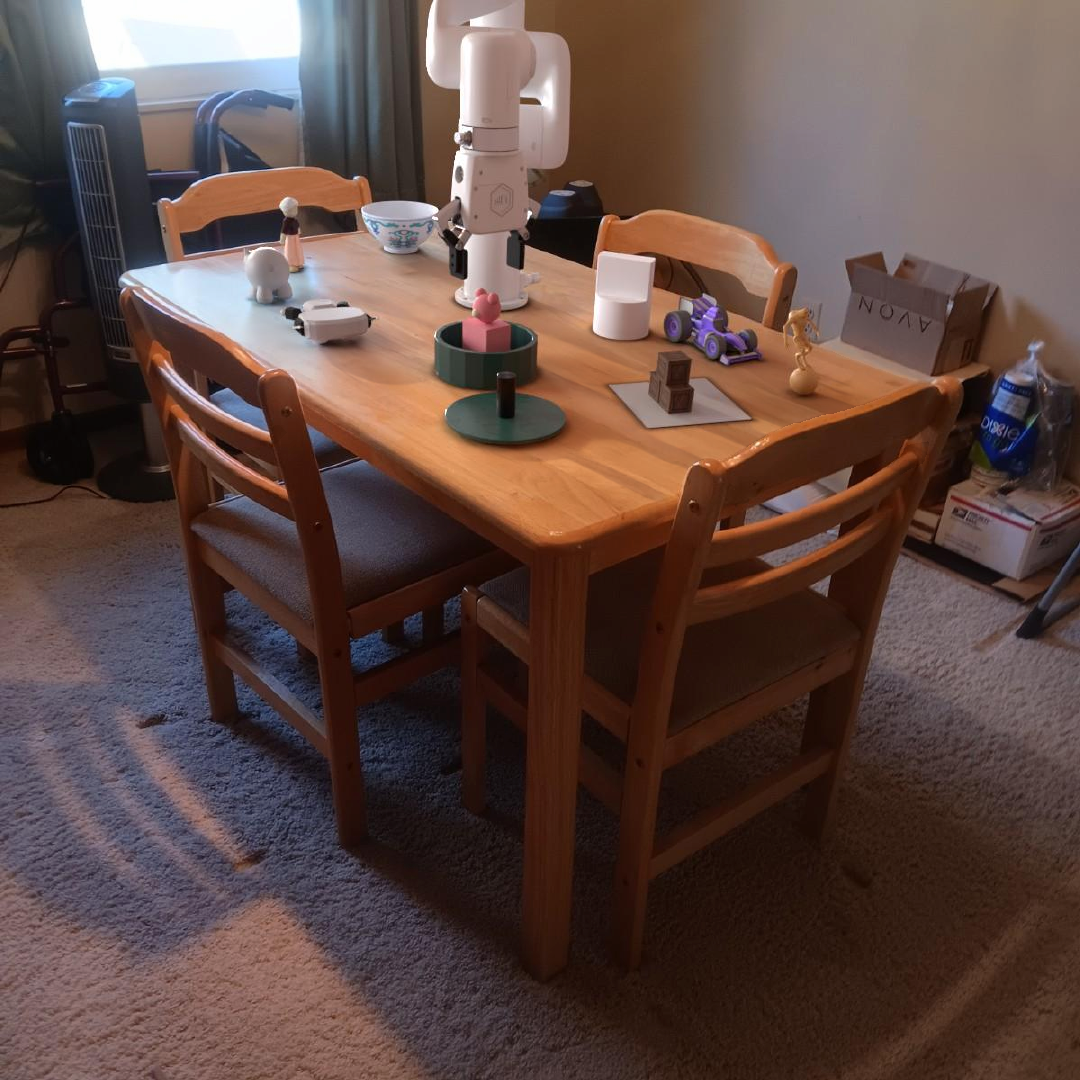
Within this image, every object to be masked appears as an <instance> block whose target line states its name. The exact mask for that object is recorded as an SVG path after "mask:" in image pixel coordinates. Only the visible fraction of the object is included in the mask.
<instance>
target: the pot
mask: <svg viewBox="0 0 1080 1080" xmlns="http://www.w3.org/2000/svg"><path fill="white" fill-rule="evenodd" d="M500 320H501V321H503V322H506V323H508V324H510V325H511V342H510V350H508V351H502V352H479V351H469V350H464V349H463V320H457V321H453V322H450V323H447V324H444V325H442V326H441V327H439V328H438V329H436V330H435V333H434V336H433V338H434V339H433V340H434V342H433V345H434V347H433V348H434V372H435V374H436V376H437V377H438V378H439V379H440V380H442V381H443V382H445V383H447V384H450V385H452V386H455V387H459V388H463V389H468V390H478V391H497V374H498V373H500V372H505V371H507V372H513V373H515V374H516V388H518V387H521V386H524V385H526V384H528V383H530V382H532V381H533V380H534V379H535V378H536V375H537V368H538V367H537V366H538V347H539V344H538V343H539V335H538V334H537V332H535V331H534V330H533V329H532V328H530V327H528V326H526V325H524V324H521V323H517V322H513V321H508V320H502V319H500Z"/></svg>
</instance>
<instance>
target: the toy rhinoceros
mask: <svg viewBox="0 0 1080 1080" xmlns="http://www.w3.org/2000/svg"><path fill="white" fill-rule="evenodd" d="M243 254H244V257H243V263H242V264H243V271H244V273H245V276H246V279H247V281H248V282H249V283H250V284H251V285H250V288H249V297H250V298H251V299H254V300H256V301H257V303H259V304H271V303H272V302H273V301H274V297H277V298H278V299H279V300H285V301H286V300H290V299H292V297H293V289H292V287H291V284H290V283H289V278H290V274H291V272H290V268H289V264H288V261H287V259H286V258H285V254H283V253H282V252H281V251H279V250H277V249H275V248H273V247H268V246H265V247H264V246H263V245H261V246H260V247H259V248H257V249H254V250H249V249H248V248H246V247H244V248H243Z"/></svg>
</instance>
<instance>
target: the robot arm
mask: <svg viewBox="0 0 1080 1080" xmlns="http://www.w3.org/2000/svg"><path fill="white" fill-rule="evenodd" d="M525 11H526V1H525V0H433V1H432V3H431V6H430V10H429V15H428V22H427V23H428V25H427V36H426V48H425V49H426V50H425V51H426V52H425V53H426V54H425V55H426V56H425V57H426V59H425V61H426V68H427V72H428V75H429V77H430V79H431V81H432V82H433V83H434V84H435V85H437V86H438V87H440V88H444V89H448V90H450V89H451V90H460V118H459V123H458V132H455V133H454V135H453V140H454V143H455V144H456V145H459V147H460V148H459V149H460V150H457V151H456V155H455V160H454V165H453V170H452V171H453V172H452V179H451V180H452V181H451V192H450V193H451V194H450V202H449V203H447V204H446V205H444V206H443V207H442V208H441V209H440V210H439V211H438V212H437V213H436V214H435V215H433V217H432V220H433V222H434V225H435V229H436V230H437V235H438V236H439V237H440V239H441V240H442V241H443V242H444V243H445V246H447V247H448V248H449V249H448V268H449V274H450V276H451V277H454V278H456V279H458V280H461V281H463V285H462V286H461V287H459V288H457V289H456V290H455V292H454V299H455V301H456V303H458V304H459V305H461V306H464V307H466V308H470V309H473V303H474V301H475V299H476V298H477V297H476V295H475V292H476V290H477V289H478V288H484V289H485V290H486V292H487V294H491V293H496V294H497V295H498V296H499V301H500V304H501V311H508V310H515V309H518V308H521V307H523V306H525V305H527V304H528V302H529V294H528V293H527V291H525V288H527V287H528V285H537V284H540V283H541V282H542V276H541V274H540V272H538V271H535V272H531V273H530V272H529V273H526V272H525V271H523V270H524V269H525V254H526V241H527V240H529V239H530V233H531V231H532V230H533V229H534V227H535V226H536V223H537V222H536V219H537V218H538V216H539V214H540V211H541V208H542V205H541V203H540V202H538V201H536V200H534V199H532V198H531V197H529V184H528V183H529V182H528V181H529V180H528V172H527V171H528V170H527V169H532V170H533V169H536V170H554V169H558V168H561V167H562V166H563V165H564V163H565V162H566V160H567V157H568V152H569V143H570V142H569V140H570V113H571V111H570V108H571V77H572V76H571V75H572V74H571V72H572V71H571V55H570V49H569V45H568V43H567V41H566V40H565V39H564V37H563V36H561V35H560V34H557V33H555V32H547V31H531V30H530V31H529V30H527V29H526V28H525V14H526V13H525ZM467 22H470V25H464V24H465V23H467ZM521 98H526V99H527V98H528V99H530V98H531V99H537V100H538V101H539V102H540V104H527V103H526V104H524V103H521ZM450 220H451V225H452V228H451V229H450V226H449V221H450Z"/></svg>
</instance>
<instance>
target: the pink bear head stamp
mask: <svg viewBox="0 0 1080 1080" xmlns="http://www.w3.org/2000/svg"><path fill="white" fill-rule="evenodd" d="M475 295H476V297H477V298H476V299H475V301H474V303H473V308H472V310H471V311H472V312H471V315H472V317H467V318H464V319H462V321H463V349H464V350H469V351H479V352H502V351H508V350H510V342H511V325H510V324H508V323H506V322H503V321H504V320H503V321H501V320H502V319H498V318H499V317H500V315H501V312H502V310H501V304H500V301H499V296H498V295H497V294H496V293H491V294H487V292H486V290H485V289H484V288H478V289H477V290H476V292H475Z"/></svg>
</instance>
